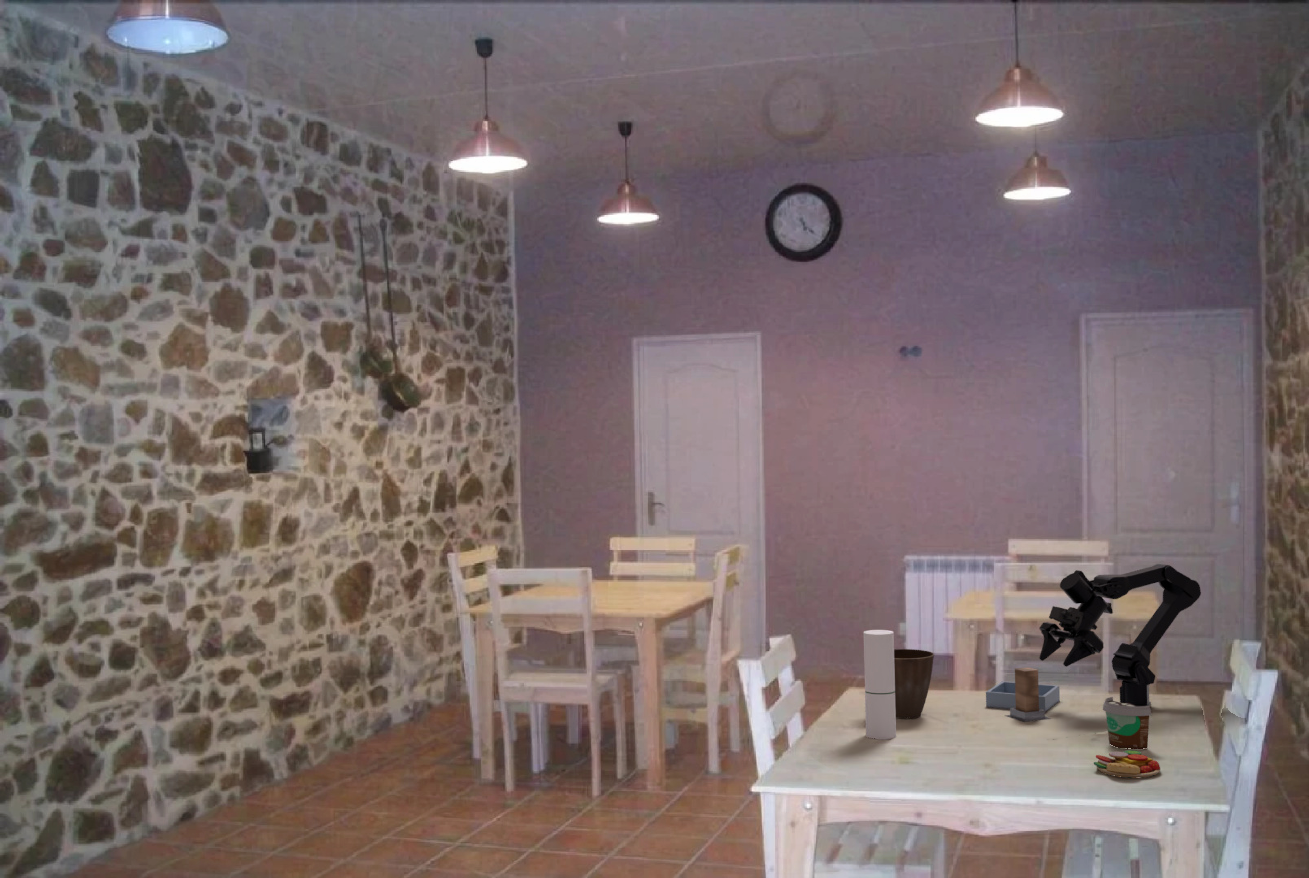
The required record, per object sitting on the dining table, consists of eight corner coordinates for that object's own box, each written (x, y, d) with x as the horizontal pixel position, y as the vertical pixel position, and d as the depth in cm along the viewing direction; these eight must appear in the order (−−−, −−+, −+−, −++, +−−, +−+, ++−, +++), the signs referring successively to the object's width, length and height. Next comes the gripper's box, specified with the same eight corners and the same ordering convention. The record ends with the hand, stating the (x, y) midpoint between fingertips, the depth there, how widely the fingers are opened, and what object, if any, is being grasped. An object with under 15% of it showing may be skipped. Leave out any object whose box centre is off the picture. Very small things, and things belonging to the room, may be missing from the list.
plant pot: (866, 712, 337) (865, 650, 337) (918, 707, 341) (917, 646, 341) (892, 724, 323) (890, 660, 323) (946, 719, 327) (944, 656, 327)
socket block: (1030, 714, 329) (1030, 704, 329) (1051, 720, 322) (1050, 710, 322) (1004, 717, 327) (1004, 707, 327) (1024, 724, 319) (1024, 713, 319)
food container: (1091, 742, 300) (1090, 699, 300) (1111, 739, 302) (1110, 696, 302) (1131, 753, 289) (1130, 709, 289) (1152, 750, 291) (1151, 706, 291)
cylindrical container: (894, 732, 315) (892, 629, 314) (897, 739, 307) (894, 634, 307) (865, 732, 315) (862, 629, 315) (867, 739, 308) (864, 634, 308)
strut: (1029, 714, 327) (1028, 667, 327) (1039, 717, 323) (1038, 669, 323) (1015, 716, 325) (1014, 668, 325) (1025, 719, 322) (1024, 671, 321)
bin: (1059, 702, 342) (1059, 685, 342) (1045, 714, 329) (1045, 696, 329) (1002, 697, 350) (1002, 681, 350) (986, 709, 337) (985, 691, 337)
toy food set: (1119, 783, 267) (1118, 767, 267) (1080, 767, 279) (1080, 752, 279) (1173, 776, 270) (1173, 761, 270) (1133, 761, 283) (1133, 746, 283)
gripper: (1044, 591, 338) (1010, 636, 334) (1093, 599, 320) (1057, 647, 316) (1069, 618, 341) (1036, 664, 337) (1119, 628, 323) (1084, 676, 319)
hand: (1052, 662), depth 327 cm, fingers open, 9 cm apart
